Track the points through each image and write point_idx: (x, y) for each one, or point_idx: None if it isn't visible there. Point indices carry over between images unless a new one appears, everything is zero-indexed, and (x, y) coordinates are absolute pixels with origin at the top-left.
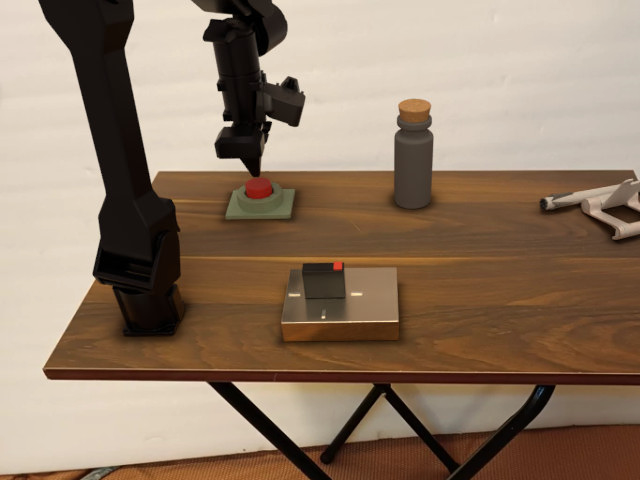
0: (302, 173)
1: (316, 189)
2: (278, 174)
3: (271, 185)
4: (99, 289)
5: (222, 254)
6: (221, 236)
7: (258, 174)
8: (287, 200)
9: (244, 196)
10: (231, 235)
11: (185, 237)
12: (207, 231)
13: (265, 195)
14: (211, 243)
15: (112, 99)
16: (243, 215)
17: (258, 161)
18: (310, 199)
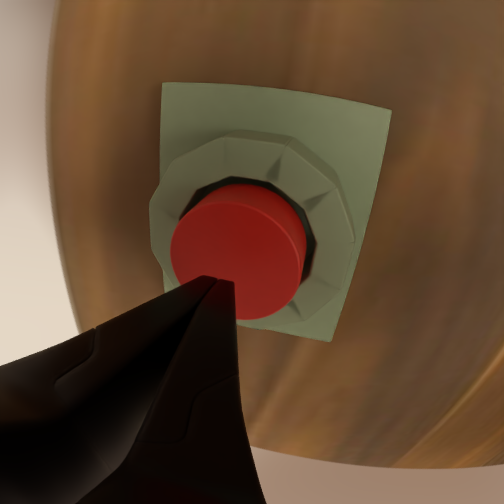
0: (56, 79)
1: (156, 5)
2: (60, 157)
3: (191, 187)
4: (462, 466)
5: (499, 340)
6: (420, 345)
7: (234, 295)
8: (260, 110)
9: None
10: (428, 322)
11: (383, 406)
12: (378, 372)
13: (296, 223)
14: (440, 364)
15: None
16: (347, 292)
17: (236, 367)
18: (232, 17)
